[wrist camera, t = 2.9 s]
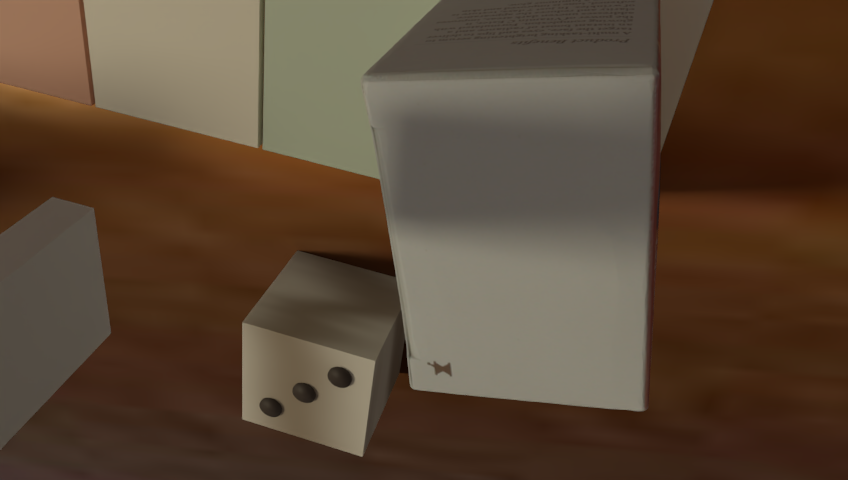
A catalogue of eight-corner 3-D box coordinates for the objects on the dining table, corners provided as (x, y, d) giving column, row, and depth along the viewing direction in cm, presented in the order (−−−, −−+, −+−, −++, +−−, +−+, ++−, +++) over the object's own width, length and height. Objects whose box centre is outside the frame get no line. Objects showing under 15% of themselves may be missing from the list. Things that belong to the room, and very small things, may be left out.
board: (732, -59, 21) (733, -57, 21) (630, 236, 26) (629, 242, 26) (-118, -222, 25) (-128, -222, 25) (-53, 64, 31) (-60, 67, 30)
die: (414, 281, 30) (374, 363, 26) (399, 371, 33) (361, 458, 29) (298, 249, 31) (241, 323, 27) (293, 340, 34) (241, 420, 29)
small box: (655, 200, 25) (650, 423, 16) (490, 196, 27) (407, 399, 18) (665, -54, 21) (668, 67, 12) (471, -39, 23) (353, 76, 14)
